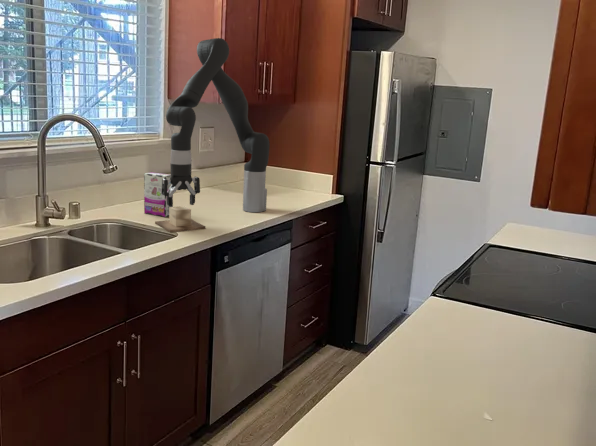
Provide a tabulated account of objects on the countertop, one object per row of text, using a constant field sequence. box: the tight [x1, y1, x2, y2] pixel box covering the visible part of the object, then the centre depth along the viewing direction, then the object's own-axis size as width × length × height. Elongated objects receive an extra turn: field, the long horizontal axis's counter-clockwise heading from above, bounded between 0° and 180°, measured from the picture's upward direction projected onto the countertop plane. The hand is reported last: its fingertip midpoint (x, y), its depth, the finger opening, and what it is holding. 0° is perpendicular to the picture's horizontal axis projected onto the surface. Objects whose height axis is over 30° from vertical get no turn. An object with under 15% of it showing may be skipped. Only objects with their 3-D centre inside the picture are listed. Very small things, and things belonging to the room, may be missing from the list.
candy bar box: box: [143, 171, 174, 218], centre depth 234 cm, size 11×5×16 cm, turn 62°
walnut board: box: [154, 218, 206, 233], centre depth 219 cm, size 14×14×1 cm
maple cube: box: [168, 205, 192, 226], centre depth 218 cm, size 6×6×6 cm
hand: (181, 205), depth 217 cm, fingers open, 8 cm apart
